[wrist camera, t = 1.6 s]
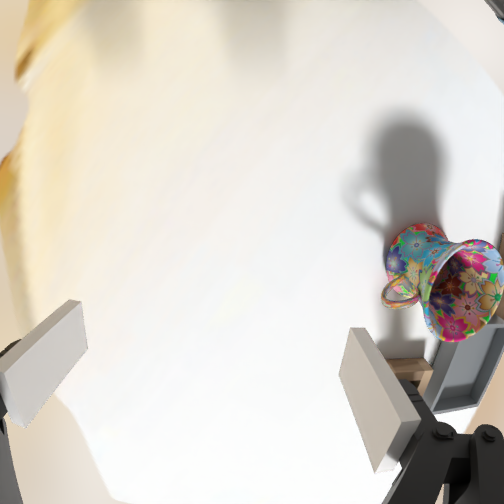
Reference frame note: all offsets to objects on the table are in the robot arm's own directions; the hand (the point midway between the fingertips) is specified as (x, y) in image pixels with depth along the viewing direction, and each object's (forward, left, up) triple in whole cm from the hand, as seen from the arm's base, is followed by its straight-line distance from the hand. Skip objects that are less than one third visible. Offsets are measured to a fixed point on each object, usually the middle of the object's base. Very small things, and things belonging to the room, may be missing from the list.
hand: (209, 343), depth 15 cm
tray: (+13, +32, -18) cm, 39 cm away
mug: (0, +19, -19) cm, 27 cm away
